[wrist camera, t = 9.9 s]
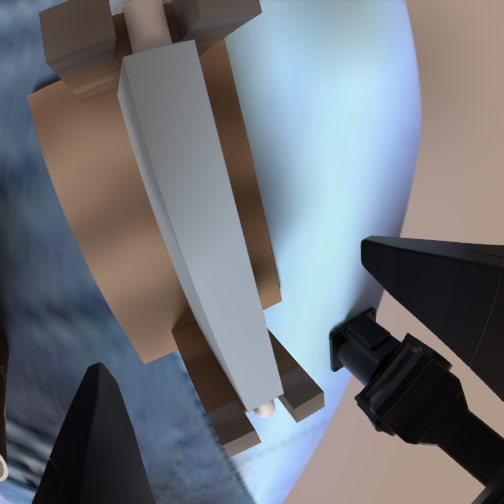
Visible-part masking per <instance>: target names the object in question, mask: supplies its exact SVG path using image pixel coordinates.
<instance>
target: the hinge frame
mask: <svg viewBox="0 0 504 504" xmlns="http://www.w3.org/2000/svg"><path fill="white" fill-rule="evenodd" d="M163 8H164V12H165V16H166V20H167V25H168V29H169V33H170V37H171V41H172V44H175V43H180V42H185V41H190V40H195V44H196V48H197V52H198V57H199V61H200V65H201V69H202V73H203V77H204V81H205V85H206V89H207V93H208V97H209V101H210V105H211V109H212V113H213V117H214V121H215V125H216V129H217V133H218V137H219V141H220V145H221V149H222V153H223V157H224V161H225V165H226V169H227V173H228V177H229V181H230V185H231V189H232V193H233V197H234V201H235V205H236V208H237V212H238V216H239V220H240V224H241V228H242V232H243V236H244V240H245V244H246V248H247V252H248V256H249V260H250V264H251V267H252V271H253V275H254V279H255V283H256V287H257V291H258V295H259V299H260V303H261V306H262V310H264V309H266V308H268V307H270V306H272V305H274V304H276V303H278V302H280V301H282V299H281V294H280V289H279V284H278V279H277V274H276V269H275V264H274V260H273V255H272V250H271V245H270V240H269V236H268V231H267V226H266V222H265V217H264V212H263V208H262V203H261V198H260V194H259V189H258V185H257V180H256V176H255V171H254V167H253V162H252V158H251V153H250V149H249V144H248V140H247V136H246V131H245V127H244V123H243V118H242V114H241V110H240V105H239V101H238V97H237V93H236V89H235V84H234V80H233V76H232V72H231V68H230V64H229V59H228V55H227V51H226V47H225V43H224V39H223V38H225V37H226V36H227V35H229V34H230V33H232V32H233V31H235V30H236V29H237V28H239V27H240V26H242V25H243V24H245V23H246V22H248V21H249V20H251V19H253V18H254V17H256V16H257V15H259V14H261V13H262V10H261V7H260V3H259V0H172V2H170V3H165V4H163ZM39 17H40V25H41V33H42V40H43V46H44V52H45V58H46V63H47V64H48V65H49V66H50V68H51V69H52V70H53V71H54V72H55V73H56V74H57V75H58V76H59V77H60V79H61V80H60V81H57V82H55V83H53V84H51V85H49V86H46V87H44V88H42V89H40V90H38V91H36V92H34V93H32V94H30V95H28V96H27V98H28V102H29V106H30V110H31V114H32V118H33V122H34V126H35V130H36V133H37V137H38V140H39V144H40V147H41V150H42V153H43V156H44V160H45V163H46V166H47V169H48V172H49V174H50V177H51V180H52V183H53V186H54V188H55V191H56V194H57V196H58V199H59V202H60V204H61V207H62V209H63V212H64V214H65V217H66V219H67V221H68V224H69V226H70V228H71V231H72V233H73V235H74V237H75V240H76V242H77V244H78V246H79V248H80V251H81V253H82V255H83V257H84V259H85V261H86V263H87V265H88V267H89V269H90V271H91V273H92V275H93V277H94V279H95V281H96V283H97V285H98V287H99V289H100V291H101V292H102V294H103V296H104V298H105V300H106V302H107V303H108V305H109V307H110V309H111V311H112V312H113V314H114V316H115V318H116V319H117V321H118V323H119V324H120V326H121V328H122V329H123V331H124V333H125V334H126V336H127V338H128V339H129V341H130V342H131V344H132V346H133V347H134V349H135V350H136V352H137V354H138V355H139V357H140V358H141V360H142V361H143V363H144V364H146V363H149V362H151V361H153V360H156V359H158V358H160V357H163V356H165V355H167V354H170V353H172V352H174V351H177V350H179V352H180V354H181V357H182V359H183V362H184V364H185V366H186V369H187V371H188V373H189V376H190V378H191V380H192V383H193V385H194V387H195V389H196V391H197V394H198V396H199V398H200V400H201V402H202V405H203V407H204V409H205V411H206V413H207V415H208V417H209V419H210V421H211V423H212V425H213V427H214V429H215V431H216V433H217V435H218V437H219V439H220V441H221V443H222V445H223V447H224V448H225V449H226V450H227V452H228V453H229V454H230V456H231V457H232V456H234V455H236V454H238V453H240V452H242V451H245V450H247V449H249V448H251V447H253V446H255V445H257V444H259V443H261V440H260V438H259V436H258V434H257V432H256V430H255V429H254V427H253V426H252V424H251V422H250V421H249V419H248V417H247V416H246V414H245V412H247V409H246V408H245V406H244V404H243V403H242V401H241V399H240V398H239V396H238V394H237V393H236V391H235V389H234V388H233V386H232V384H231V383H230V381H229V379H228V378H227V376H226V374H225V372H224V371H223V369H222V367H221V365H220V364H219V362H218V360H217V358H216V357H215V355H214V353H213V351H212V350H211V348H210V346H209V344H208V342H207V340H206V339H205V337H204V335H203V333H202V331H201V329H200V327H199V326H198V324H197V321H196V319H195V317H194V314H193V312H192V310H191V307H190V305H189V303H188V300H187V298H186V295H185V293H184V291H183V288H182V286H181V283H180V281H179V278H178V276H177V273H176V271H175V268H174V266H173V263H172V261H171V258H170V255H169V253H168V250H167V248H166V245H165V242H164V240H163V237H162V234H161V232H160V229H159V226H158V223H157V221H156V218H155V215H154V212H153V209H152V206H151V204H150V201H149V198H148V195H147V192H146V189H145V186H144V183H143V180H142V177H141V174H140V171H139V167H138V164H137V161H136V158H135V155H134V151H133V148H132V145H131V141H130V138H129V135H128V131H127V128H126V124H125V121H124V117H123V114H122V110H121V106H120V102H119V99H118V95H117V94H118V87H119V79H120V73H121V66H122V60H123V57H125V56H128V55H132V54H133V52H132V48H131V44H130V39H129V35H128V30H127V26H126V21H125V16H124V13H121V14H117V15H114V16H112V15H111V10H110V5H109V0H69V1H66V2H63V3H61V4H58V5H56V6H53V7H51V8H48V9H46V10H44V11H42V12H39ZM267 330H268V334H269V338H270V341H271V345H272V349H273V353H274V357H275V361H276V365H277V368H278V372H279V376H280V380H281V384H282V388H283V392H284V394H282V395H280V396H278V398H279V400H280V401H281V402H282V404H283V405H284V406H285V408H286V409H287V410H288V412H289V413H290V414H291V416H292V417H293V418H294V420H295V421H296V422H297V423H298V422H299V421H301V420H303V419H305V418H306V417H308V416H310V415H311V414H313V413H315V412H316V411H318V410H319V409H321V408H323V407H324V392H323V390H322V389H321V388H320V387H319V386H318V385H317V384H316V383H315V382H314V380H313V379H312V378H311V377H310V376H309V375H308V374H307V373H306V372H305V370H304V369H303V368H302V367H301V366H300V365H299V364H298V363H297V361H296V360H295V359H294V358H293V357H292V356H291V355H290V354H289V352H288V351H287V350H286V349H285V348H284V347H283V346H282V344H281V343H280V342H279V341H278V340H277V339H276V338H275V336H274V335H273V334H272V333H271V332H270V331H269V329H268V328H267Z"/></svg>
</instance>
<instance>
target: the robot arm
mask: <svg viewBox="0 0 504 504" xmlns="http://www.w3.org/2000/svg"><path fill="white" fill-rule="evenodd" d="M361 262H362V265H363V266H364V268H365V269H366V270H367V271H368V272H369V273H370V274H371V275H372V276H373V277H374V278H375V279H376V280H377V281H378V282H379V283H380V284H381V285H382V287H383V288H384V289H385V290H386V291H387V292H388V293H389V294H390V295H392V296H393V297H394V298H395V299H396V300H397V301H398V302H399V303H400V304H401V305H403V306H404V307H405V308H406V309H407V310H408V311H409V312H410V313H412V314H413V315H414V316H415V317H416V318H417V319H418V320H419V321H420V322H422V323H423V324H424V325H425V326H426V327H427V328H428V329H429V330H430V331H431V332H433V333H434V334H435V335H436V336H437V337H438V338H439V339H440V340H441V341H442V342H443V343H444V344H445V345H446V346H448V347H449V348H450V349H451V350H452V351H453V352H454V353H455V354H456V355H457V356H458V357H459V358H460V359H461V360H462V361H463V362H464V363H465V364H466V365H467V366H468V367H470V369H471V370H472V371H473V372H474V373H475V374H476V375H477V376H478V377H479V378H480V379H481V380H482V381H483V382H484V383H485V384H486V385H487V386H488V387H489V388H490V389H491V390H492V391H493V392H494V393H495V394H496V395H497V396H498V397H499V398H500V399H501V400H502V401H503V402H504V245H485V244H472V243H460V242H449V241H437V240H423V239H412V238H398V237H384V236H369V237H367V238H365V239H363V240H362V241H361ZM329 340H330V357H331V370H332V371H333V372H336V371H338V370H339V369H341V368H342V367H345V368H346V369H347V370H349V371H350V372H351V373H352V374H353V375H354V376H355V377H356V378H357V379H358V380H359V381H360V382H361V383H362V384H363V385H364V386H365V387H364V389H363V390H362V391H361V392H360V393H359V394H357V395H356V396H355V400H356V401H357V405H358V406H359V407H360V408H361V409H362V410H363V411H364V413H365V414H366V415H367V416H368V418H369V420H370V421H371V423H372V425H373V426H374V428H375V430H376V431H378V432H385V433H388V434H389V435H391V436H395V434H397V435H398V436H399V437H400V438H401V439H402V440H404V441H405V442H406V443H411V444H422V445H431V446H438V447H440V448H441V449H442V450H443V451H444V452H446V453H447V454H448V455H449V456H450V457H451V458H453V459H454V460H455V461H456V462H457V463H458V464H459V465H461V466H462V467H463V468H464V469H465V470H467V471H468V472H469V473H470V474H471V475H472V476H473V477H475V478H476V479H477V480H478V481H479V482H480V483H482V484H483V485H484V486H485V487H486V488H485V489H484V490H483V491H482V492H481V494H480V495H479V496H478V497H477V498H476V499H475V500H474V501H473V502H472V504H504V438H503V437H501V436H500V435H499V434H498V433H496V432H495V431H494V430H493V429H492V428H490V427H489V426H488V425H487V424H485V423H484V422H483V421H482V420H480V419H479V418H478V417H477V416H475V415H474V414H473V413H472V412H470V411H469V409H468V405H467V402H466V399H465V395H464V392H463V389H462V386H461V383H460V380H459V379H458V378H457V377H456V376H455V375H454V374H452V373H451V372H450V371H449V370H450V369H451V368H452V364H451V363H450V362H448V361H447V360H446V359H445V358H444V357H443V356H441V355H440V354H439V353H437V352H436V351H435V350H433V349H432V348H430V347H428V346H427V345H426V344H424V343H422V342H421V341H419V340H418V339H417V338H415V337H413V336H412V335H410V334H409V333H407V334H406V336H405V338H404V340H403V341H402V342H400V341H399V340H397V339H396V338H394V337H393V336H392V335H391V334H390V332H389V331H387V330H386V329H385V328H383V327H382V326H381V325H379V324H378V323H376V309H374V308H370V309H369V310H367V311H366V312H364V313H363V314H361V315H360V316H358V317H357V318H355V319H353V320H352V321H350V322H349V323H347V324H346V325H344V326H342V327H341V328H339V329H338V330H336V331H334V332H333V333H331V335H330V337H329ZM32 504H157V503H156V500H155V498H154V495H153V492H152V489H151V486H150V483H149V480H148V477H147V474H146V471H145V468H144V464H143V461H142V458H141V454H140V451H139V447H138V443H137V440H136V436H135V433H134V429H133V426H132V423H131V421H130V418H129V415H128V412H127V410H126V407H125V404H124V401H123V398H122V395H121V392H120V389H119V386H118V384H117V382H116V380H115V379H114V377H113V376H112V375H111V373H110V372H109V371H108V370H107V368H106V367H105V366H104V364H102V363H101V362H98V363H96V364H93V365H91V366H89V367H88V369H87V371H86V373H85V375H84V377H83V379H82V381H81V384H80V386H79V388H78V390H77V392H76V394H75V397H74V399H73V401H72V403H71V406H70V408H69V410H68V413H67V415H66V417H65V420H64V422H63V424H62V427H61V429H60V432H59V434H58V437H57V439H56V442H55V444H54V447H53V449H52V452H51V455H50V460H48V463H47V465H46V468H45V471H44V474H43V476H42V479H41V482H40V484H39V487H38V489H37V491H36V494H35V496H34V499H33V501H32Z"/></svg>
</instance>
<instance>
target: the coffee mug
mask: <svg viewBox="0 0 504 504" xmlns="http://www.w3.org/2000/svg"><path fill="white" fill-rule="evenodd" d="M8 358H9V351H8V346H7V343H6V340H5V338H4V336H3V334H2V333H1V331H0V482H1V481H3V480H5V479H6V478H7V476H8V461H7V448H6V422H5V409H6V382H7V369H8Z"/></svg>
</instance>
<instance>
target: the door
mask: <svg viewBox="0 0 504 504" xmlns="http://www.w3.org/2000/svg"><path fill="white" fill-rule="evenodd" d="M123 11H124V16H125V21H126V26H127V30H128V35H129V39H130V44H131V48H132V52H133V54H132V55H128V56H125V57H123V60H122V66H121V73H120V79H119V87H118V94H117V95H118V99H119V102H120V106H121V110H122V114H123V117H124V121H125V124H126V128H127V131H128V135H129V138H130V141H131V145H132V148H133V151H134V155H135V158H136V161H137V164H138V167H139V171H140V174H141V177H142V180H143V183H144V186H145V189H146V192H147V195H148V198H149V201H150V204H151V206H152V209H153V212H154V215H155V218H156V221H157V223H158V226H159V229H160V232H161V234H162V237H163V240H164V242H165V245H166V248H167V250H168V253H169V255H170V258H171V261H172V263H173V266H174V268H175V271H176V273H177V276H178V278H179V281H180V283H181V286H182V288H183V291H184V293H185V295H186V298H187V300H188V303H189V305H190V307H191V310H192V312H193V314H194V317H195V319H196V321H197V324H198V326H199V327H200V329H201V331H202V333H203V335H204V337H205V339H206V340H207V342H208V344H209V346H210V348H211V350H212V351H213V353H214V355H215V357H216V358H217V360H218V362H219V364H220V365H221V367H222V369H223V371H224V372H225V374H226V376H227V378H228V379H229V381H230V383H231V384H232V386H233V388H234V389H235V391H236V393H237V394H238V396H239V398H240V399H241V401H242V403H243V404H244V406H245V408H246V409H247V411H248V412H250V411H252V410H254V413H255V414H256V415H257V416H259V417H268V416H270V415H271V414H272V413H273V412H274V410H275V405H274V402H273V399H275V398H276V397H278V396H280V395H282V394H284V392H283V388H282V384H281V380H280V376H279V372H278V368H277V365H276V361H275V357H274V353H273V349H272V345H271V341H270V338H269V334H268V330H267V326H266V322H265V318H264V314H263V310H262V306H261V303H260V299H259V295H258V291H257V287H256V283H255V279H254V275H253V271H252V267H251V264H250V260H249V256H248V252H247V248H246V244H245V240H244V236H243V232H242V228H241V224H240V220H239V216H238V212H237V208H236V205H235V201H234V197H233V193H232V189H231V185H230V181H229V177H228V173H227V169H226V165H225V161H224V157H223V153H222V149H221V145H220V141H219V137H218V133H217V129H216V125H215V121H214V117H213V113H212V109H211V105H210V101H209V97H208V93H207V89H206V85H205V81H204V77H203V73H202V69H201V65H200V61H199V57H198V52H197V48H196V44H195V40H190V41H185V42H180V43H175V44H172V41H171V37H170V33H169V29H168V25H167V20H166V16H165V12H164V8H163V3H162V0H130V1H129V2H127V3H126V4H125V5H124V6H123Z"/></svg>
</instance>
